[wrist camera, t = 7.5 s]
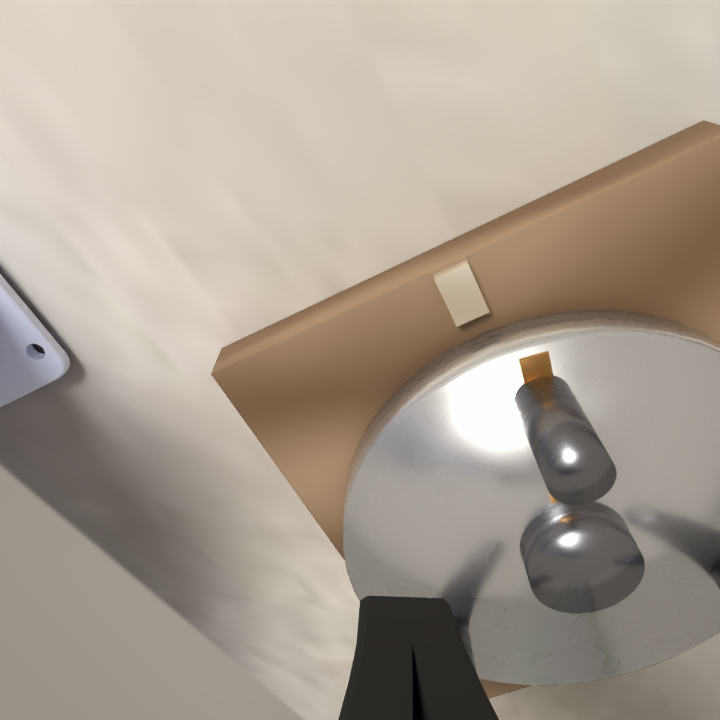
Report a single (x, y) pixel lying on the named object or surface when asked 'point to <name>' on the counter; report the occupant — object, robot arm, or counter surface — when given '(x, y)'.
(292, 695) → the counter surface
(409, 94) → the counter surface
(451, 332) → the tan base board
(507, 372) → the capstan dial
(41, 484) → the counter surface
